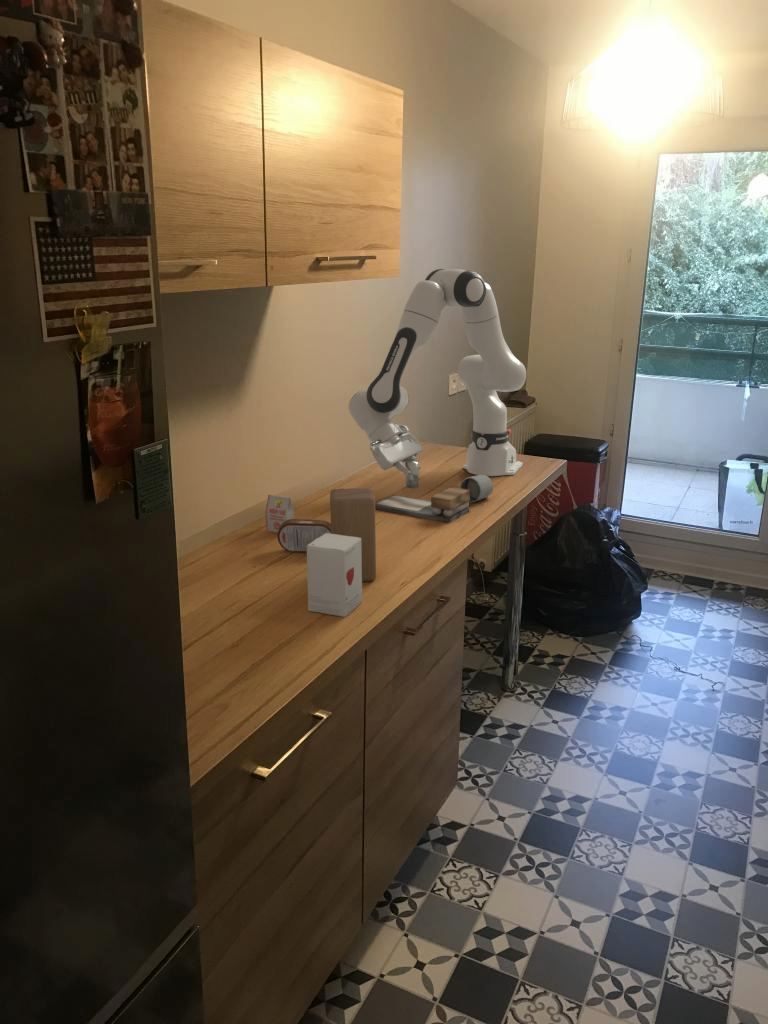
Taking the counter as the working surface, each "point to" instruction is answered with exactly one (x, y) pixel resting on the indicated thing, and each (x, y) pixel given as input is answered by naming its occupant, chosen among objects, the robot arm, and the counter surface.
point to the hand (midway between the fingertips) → (413, 472)
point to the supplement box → (334, 574)
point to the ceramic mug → (477, 487)
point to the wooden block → (356, 523)
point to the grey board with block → (430, 505)
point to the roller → (412, 474)
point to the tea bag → (278, 512)
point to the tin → (301, 533)
